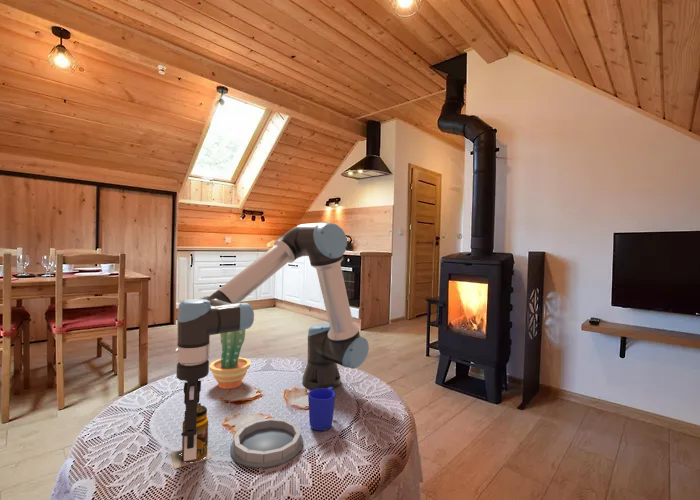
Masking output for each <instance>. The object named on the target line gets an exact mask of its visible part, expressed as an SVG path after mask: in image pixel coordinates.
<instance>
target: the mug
mask: <svg viewBox="0 0 700 500" xmlns="http://www.w3.org/2000/svg"><path fill="white" fill-rule="evenodd" d="M307 396H308V397H307V398H308V400H307V401H308V417H309V418H308V419H309V426H310V428H311V429H313V430H314V431H319V432H323V431H326V430H329V429H330V428H331V427H332V425H333V422H334V421H333V420H334V411H335V403H336V392H335V390H334V388H333V387H329V388H327V389H326V388H318V389H311V390H309V392H308V394H307Z"/></svg>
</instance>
